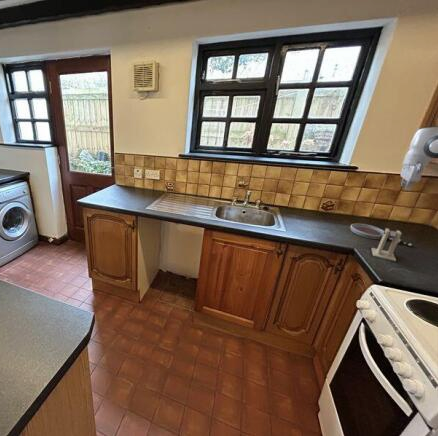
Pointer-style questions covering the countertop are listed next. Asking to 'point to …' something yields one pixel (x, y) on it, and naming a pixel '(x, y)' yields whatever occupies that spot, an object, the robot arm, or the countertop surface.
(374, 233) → the frying pan
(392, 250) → the white stand
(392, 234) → the stove lever
